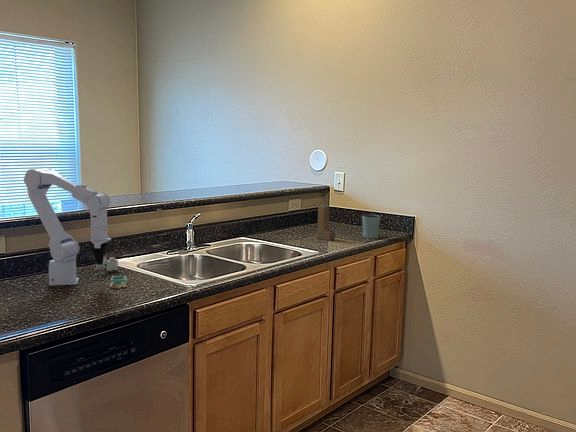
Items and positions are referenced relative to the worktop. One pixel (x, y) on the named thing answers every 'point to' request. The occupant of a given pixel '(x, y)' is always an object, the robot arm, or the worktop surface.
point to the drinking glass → (370, 226)
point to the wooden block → (324, 224)
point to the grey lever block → (111, 263)
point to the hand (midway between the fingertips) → (100, 263)
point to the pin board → (118, 281)
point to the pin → (100, 266)
